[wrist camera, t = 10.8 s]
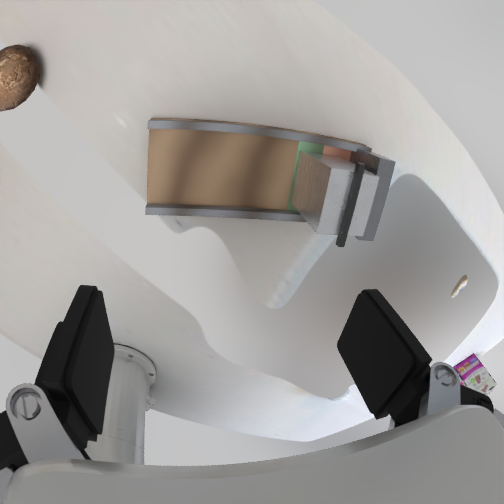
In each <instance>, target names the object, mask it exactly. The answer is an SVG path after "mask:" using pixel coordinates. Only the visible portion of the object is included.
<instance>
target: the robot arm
mask: <svg viewBox="0 0 504 504" xmlns="http://www.w3.org/2000/svg"><path fill="white" fill-rule="evenodd" d="M337 348H338V350H339V353H340V354H341V357H342V358H343V360H344V362H345V364H346V366H347V368H348V370H349V372H350V374H351V375H352V377H353V380H354V381H355V384H356V386H357V387H358V389H359V391H360V393H361V395H362V397H363V399H364V401H365V403H366V405H367V407H368V409H369V411H370V412H371V413H372V414H374V416H375V418H376V419H380V418H383V417H386V416H388V414H390V415H391V420H390V424H389V428H388V431H385V432H382V433H380V434H376V435H373V436H370V437H367V438H364V439H361V440H357V441H354V442H351V443H347V444H344V445H340V446H336V447H332V448H328V449H324V450H320V451H316V452H311V453H306V454H301V455H296V456H291V457H285V458H279V459H273V460H266V461H258V462H249V463H241V464H228V465H212V466H154V465H144V427H145V411H148V410H149V409H150V404H152V405H153V404H155V402H156V399H155V398H153V397H152V396H151V395H149V387H151V386H152V385H153V384H154V382H155V380H156V369H155V366H154V365H153V363H152V362H151V361H150V360H149V359H148V358H147V357H146V356H144V355H143V354H142V353H140V352H138V351H136V350H134V349H131V348H129V347H125V346H121V345H115V344H114V343H113V339H112V335H111V331H110V326H109V322H108V317H107V313H106V308H105V303H104V298H103V293H102V291H99V290H98V289H97V287H96V286H88V285H80V286H79V288H78V290H77V292H76V294H75V297H74V299H73V301H72V303H71V305H70V307H69V310H68V312H67V314H66V317H65V319H64V321H63V322H61V321H60V322H59V323H58V324H57V326H56V328H55V330H54V333H53V335H52V338H51V340H50V342H49V345H48V347H47V350H46V353H45V355H44V358H43V361H42V363H41V366H40V369H39V372H38V375H37V378H36V380H35V384H31V383H30V384H29V383H28V384H27V383H26V384H25V383H24V384H21V385H18V386H16V387H15V388H13V389H12V390H11V392H10V393H9V394H8V397H7V399H6V411H4V412H2V413H0V504H504V415H503V414H502V413H501V412H499V411H498V410H496V409H495V410H494V408H493V404H492V401H491V400H490V398H489V397H488V396H486V395H485V394H483V393H481V392H478V391H476V390H473V389H471V388H468V387H466V386H464V385H461V384H460V379H459V375H458V373H457V372H456V370H455V369H454V368H453V367H451V366H450V365H448V364H446V363H443V362H437V363H434V364H433V365H432V367H431V368H430V366H429V364H430V362H431V361H432V358H431V357H430V356H429V354H428V353H427V352H426V350H425V349H424V347H423V346H422V345H421V343H420V342H419V341H418V339H417V338H416V337H415V336H414V334H413V333H412V332H411V331H410V329H409V328H408V326H407V325H406V324H405V323H404V321H403V320H402V319H401V318H400V316H399V315H398V314H397V313H396V311H395V310H394V309H393V308H392V306H391V305H390V304H389V303H388V301H387V300H386V299H385V298H384V297H383V295H382V294H381V293H380V292H379V291H378V290H377V289H368V290H367V289H366V290H363V291H362V292H361V293H360V294H359V295H358V296H357V298H356V301H355V303H354V306H353V308H352V311H351V313H350V315H349V318H348V320H347V322H346V324H345V327H344V329H343V331H342V334H341V336H340V338H339V340H338V343H337ZM148 402H149V403H150V404H149V403H148Z"/></svg>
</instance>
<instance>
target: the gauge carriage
mask: <svg viewBox="0 0 504 504" xmlns="http://www.w3.org/2000/svg"><path fill="white" fill-rule="evenodd" d="M378 181H379V176H377V175H375V174H373V173H371V172H369V171H367V170H365V164H363V163H359V162H356V165H355V164H353V163H351V162H349V161H347V160H345V159H343V158H341V157H337V156H331V155H325V154H320V153H314V152H308V151H301V150H300V152H299V158H298V164H297V169H296V175H295V180H294V185H293V191H292V196H291V201H290V202H291V204H292V205H293V206H294V207H295V208H296V209H297V211H298V212H299V213H300V214H301V215H302V217H303V218H304V219H305V220H306V221H307V223H308V224H309V225H310V226H311V227H312V229H313V230H314V231H315V232H316V233H317V234H331V235H338V237H337V241H336V245H337V246H338V247H344V245H345V242H346V238H347V236H362V237H363V234H364V231H365V228H366V224H367V221H368V218H369V214H370V211H371V207H372V203H373V200H374V196H375V192H376V189H377V185H378Z"/></svg>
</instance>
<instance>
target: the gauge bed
mask: <svg viewBox="0 0 504 504" xmlns="http://www.w3.org/2000/svg"><path fill="white" fill-rule="evenodd" d="M148 129H150V130H149V148H148V177H147V205H146V215H178V216H206V217H228V218H248V219H266V220H283V221H298V222H307V221H306V220H305V219H304V218H303V217H302V215H301V214H300V213H299V212H298V211H297V209H296V208H295V207H294V206H293V205H292V204H291V202H290V201H291V196H292V191H293V185H294V180H295V175H296V169H297V164H298V158H299V152H300V150H301V151H308V152H314V153H320V154H325V155H331V156H337V157H341V158H343V159H345V160H347V161H349V159H350V154H351V151H355V152H356V150H357V149H362V150H366V151H370V152H371V150H372V148H369V147H367V146H366V145H363V144H360V143H356V142H352V141H347V140H343V139H338V138H334V137H329V136H324V135H319V134H313V133H308V132H302V131H296V130H290V129H284V128H277V127H270V126H262V125H254V124H245V123H236V122H225V121H212V120H196V119H171V118H151V119H150V120H149V121H148Z"/></svg>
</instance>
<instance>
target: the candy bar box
mask: <svg viewBox="0 0 504 504" xmlns="http://www.w3.org/2000/svg"><path fill="white" fill-rule="evenodd" d="M453 368H454V369H455V370H456V372H457V373H458V375H459V379H460V384H461V385H464V386H466V387H468V388H471V389H473V390H476V391H478V392H481V393H483V394H485V395H487V394H489V393H490V392H491V391H492V390H493V389H494V388H495V386H496V385H497V384H496V382H495V381H494V379H493V378H492V377H491V375H490V374H489V373H488V371H487V370H486V369H485V367H484V366H483V365H482V363H481V362H480V361H479V359H478V358H477V357H476V356H475V354H472V355H471V356H469V357H468V358H466V359H465V360H463V361H462V362H460V363H459V364H458V365H456V366H454V367H453Z"/></svg>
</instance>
